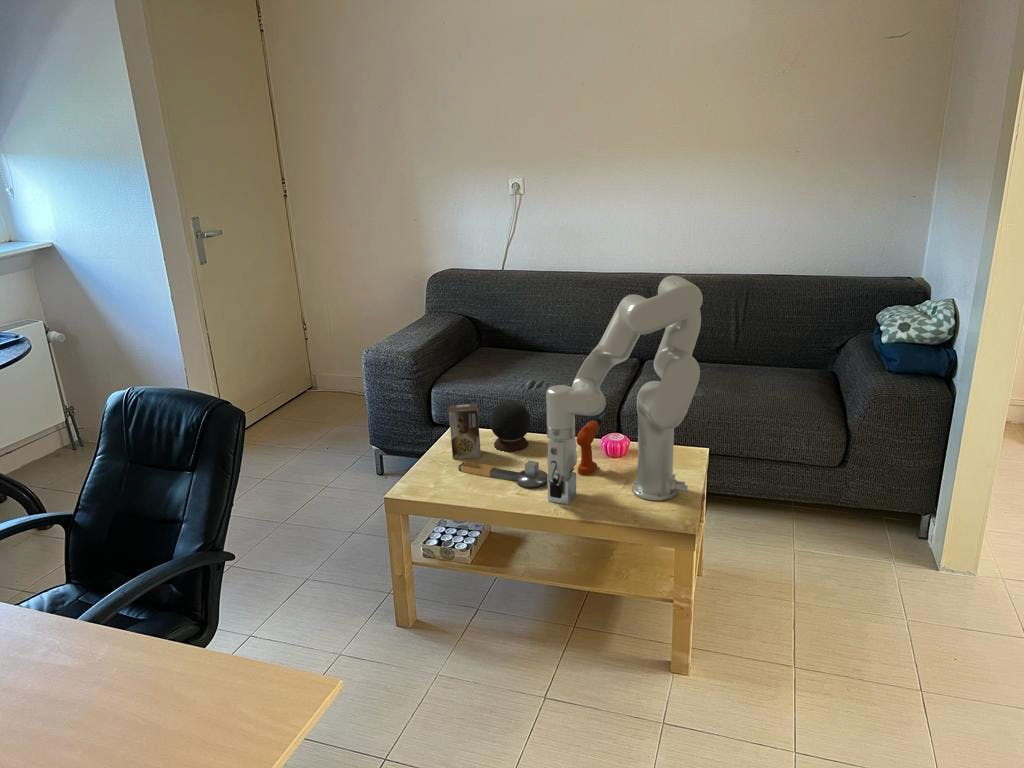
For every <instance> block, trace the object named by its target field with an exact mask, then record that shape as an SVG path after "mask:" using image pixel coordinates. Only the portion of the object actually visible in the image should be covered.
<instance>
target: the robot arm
mask: <svg viewBox="0 0 1024 768" xmlns="http://www.w3.org/2000/svg"><path fill="white" fill-rule="evenodd" d="M703 301H704V298H703V294H702V291H701V289H700V288H699V287H698V286H697V285H696V284H694V283H693V282H691V281H689V280H687V279H686V278H683V277H682V276H679V275H668V276H666V277H664V278H662V280H661V281H660V282H659V285H658V288H657V294H656V295H655V296H652V297H649V298H646V297H644V296H642V295H639V294H633V293H632V294H628V295H626V296H625V297H623V298H622V300H620V302H619V304H618V306H617V307H616V309H615V310H614V311H615V312H614V314H613V315H612V317H611V318H610V321H609V323H608V325H607V327H606V329H605V331H604V333H603V335H602V337H601V338H600V340H599V342H598V343H597V345H596V346H595V347H594V349H592V350H591V352H590V353H589V355H588V356H586V358H585V360H584V361H583V362H582V364H581V365H580V368H579V370H578V371H577V374H576V375H575V377H574V380H573V381H572V385H571V386H569V385H565V384H558V385H557V384H556V385H552V386H549V387H548V388H547V389H546V394H545V400H546V401H545V403H546V406H545V407H546V412H545V413H546V438H547V439H548V444H547V472H548V473H547V478H548V480H549V484H550V496H551V497H555V498H561V497H562V485H561V484H560V481H561V476H565V475H567V474H568V473H569V472H574V470H575V468H574V467H575V466H576V465H577V463H578V458H577V457H578V455H577V453H578V452H577V439H576V415H577V416H587V417H594V416H597V415H600V414H602V412H603V411H604V410H605V408H606V405H607V403H606V401H607V400H606V397H605V395H604V394H603V392H602V391H601V389H600V387H601V385H602V383H603V381H604V380H605V377H606V376H607V374H608V373H609V371H610V370H611V369H612V368H613V367H614V366H616V365H617V364H620V363H622V362H625V361H627V360H628V359H629V357H630V356H631V354H632V351H633V350H634V347H635V346H636V344H637V342H638V340H639V338H640V337H641V335H647V334H652V333H655V332H657V331H659V330H663V329H665V330H664V332H663V336H662V338H661V342H660V344H659V346H658V349H657V352H656V353H655V356H654V359H653V369H654V371H655V373H656V374H657V376H658V377H660V381H659V380H651V381H648V382H646V383H644V384H643V385H642V386H641V387H640V388H639V391H638V393H637V394H636V395H637V396H636V410H637V411H636V412H637V424H638V429H637V430H638V431H637V432H638V433H637V434H638V437H637V444H638V445H637V480H635V481H633V483H632V484H631V491H632V493H633V494H634V495H635V496H636V497H638V498H640V499H641V498H642V499H644V500H647V501H666V500H670V499H672V498H674V497H676V496H677V494H678V492H681V493H682V492H683V493H687V492H688V485H687V484H686V481H681V480H680V481H679V480H678V479H676V474H673V473H674V472H673V471H674V469H673V468H674V467H673V464H674V441H675V429H676V427H678V426H679V425H680V424H681V423H682V422H683V421H684V418H685V417H686V416H687V413H688V411H689V407H690V405H691V403H692V400H693V398H694V395H695V392H696V389H697V388H698V384H699V381H700V377H701V376H700V375H701V369H700V364H699V362H698V361H697V359H696V358H695V357H694V356H693V353H694V349H695V347H696V344H697V340H698V337H699V334H700V331H701V325H702V314H701V313H702V312H701V306H702V305H703ZM555 471H558V473H555ZM554 475H556V476H558V479H556V478H554Z"/></svg>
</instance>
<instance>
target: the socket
mask: <svg viewBox="0 0 1024 768" xmlns="http://www.w3.org/2000/svg"><path fill="white" fill-rule="evenodd" d="M555 473H558V471H555ZM554 478H556V479H558V476H556V475H554ZM560 484H561V485H562V497H561V498H555V497H551V496H550V484H549V480H548V478H547V485H546V486H547V501H548V502H553V503H555V502H556V504H560V503H561V504H562V505H566V506H567V505H568V506H569V505H570V504H571V503H572V501H573V500H574V499H575V498H576V497H577V472H574V471H572V472H569V473H568V474H567V475H565V476H561V481H560Z"/></svg>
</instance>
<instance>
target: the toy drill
mask: <svg viewBox="0 0 1024 768" xmlns="http://www.w3.org/2000/svg"><path fill="white" fill-rule="evenodd" d="M606 415H607V413H606V412H603V413H601V415H600V416H599V417H596V418H594V419H593V420H590V421H588V422H587V423H586V424H585V425H584V426H583V427H582V428H581V429H580V430H579V432H578V434H577V435H576V445H578V446H580V453H581V455H580V462H579V464H578V467H577V474H578V475H581V476H589V475H592V474H593V473H595V472H596V471H597V469H598V464H597V462H594V461H593V449H592V446H593V445H592V444H593V442H594V439H595V438H596V435H597V434H598V432H599V429H600V427H601V425H602V420H603V419H604V417H606Z"/></svg>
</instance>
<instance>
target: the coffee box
mask: <svg viewBox="0 0 1024 768" xmlns="http://www.w3.org/2000/svg"><path fill="white" fill-rule="evenodd" d="M478 411H479V410H478V404H477V403H463V404H450V405H449V406H448V419H449V430H450V441H451V455H452V456H451V458H452V460H459V459H470V458H471V459H473V458H481V457H482V451H481V441H480V440H481V438H480V427H479V412H478Z"/></svg>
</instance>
